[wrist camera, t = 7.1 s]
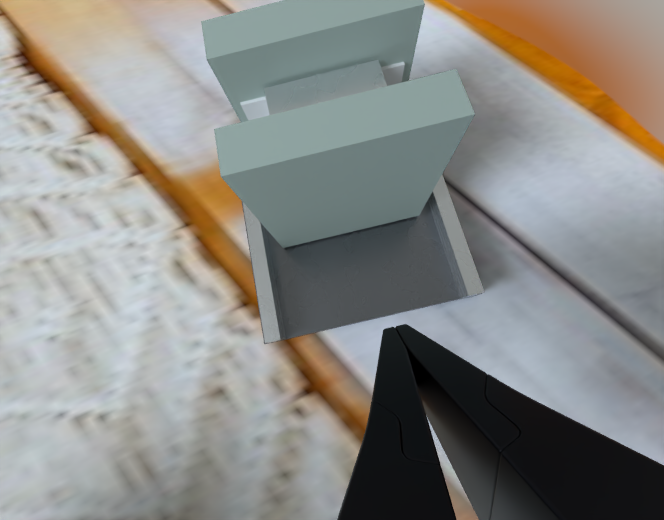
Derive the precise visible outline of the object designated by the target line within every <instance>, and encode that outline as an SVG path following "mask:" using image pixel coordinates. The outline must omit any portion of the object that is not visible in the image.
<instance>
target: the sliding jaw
mask: <svg viewBox="0 0 664 520" xmlns="http://www.w3.org/2000/svg"><path fill="white" fill-rule="evenodd" d="M474 115H475V113H474V110H473V108H472V105H471V103H470V100H469V98H468V96H467V93H466V91H465V88H464V86H463V84H462V81H461V79H460V76H459V74H458V72H457V69H454V70H450V71H446V72H442V73H438V74H434V75H430V76H426V77H422V78H418V79H414V80H410V81H406V82H402V83H398V84H394V85H390V86H386V87H382V88H378V89H374V90H369V91H365V92H361V93H357V94H353V95H349V96H345V97H341V98H337V99H333V100H329V101H325V102H321V103H317V104H313V105H309V106H305V107H301V108H297V109H293V110H289V111H285V112H281V113H277V114H273V115H269V116H265V117H261V118H257V119H253V120H249V121H245V122H241V123H237V124H233V125H229V126H225V127H221V128H217V129H214V131H215V138H216V146H217V153H218V160H219V167H220V174H221V177H222V178H223V180H224V181H225V182H226V183H227V184H228V185H229V186H230V188H231V189H232V190H233V191H234V192H235V193H236V195H237V196H238V197H239V198H240V199H241V200H242V201H243V203H244V204H245V205H246V206H247V207H248V208H249V210H250V211H251V212H252V213H253V214H254V215H255V216H256V218H257V219H258V220H259V221H260V222H261V223H262V225H263V226H264V227H265V228H266V229H267V230H268V231H269V233H270V234H271V235H272V236H273V237H274V238H275V240H276V241H277V242H278V243H279V244H280V245H281V246H282V248H285V247H290V246H294V245H298V244H302V243H306V242H311V241H315V240H319V239H323V238H327V237H331V236H336V235H340V234H344V233H348V232H352V231H357V230H361V229H365V228H369V227H373V226H378V225H382V224H386V223H390V222H394V221H398V220H403V219H407V218H411V217H415V216H419V215H420V213H421V211H422V210H423V208H424V206H425V204H426V202H427V200H428V199H429V197H430V195H431V193H432V191H433V190H434V188H435V186H436V184H437V182H438V181H439V179H440V177H441V175H442V173H443V172H444V170H445V168H446V166H447V164H448V162H449V161H450V159H451V157H452V155H453V153H454V152H455V150H456V148H457V146H458V144H459V143H460V141H461V139H462V137H463V135H464V133H465V132H466V130H467V128H468V126H469V124H470V123H471V121H472V119H473V117H474Z"/></svg>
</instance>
